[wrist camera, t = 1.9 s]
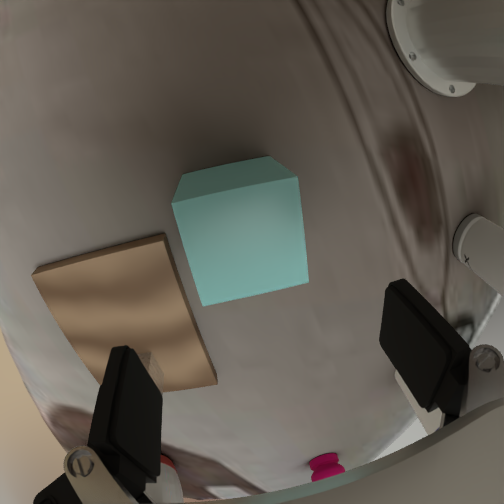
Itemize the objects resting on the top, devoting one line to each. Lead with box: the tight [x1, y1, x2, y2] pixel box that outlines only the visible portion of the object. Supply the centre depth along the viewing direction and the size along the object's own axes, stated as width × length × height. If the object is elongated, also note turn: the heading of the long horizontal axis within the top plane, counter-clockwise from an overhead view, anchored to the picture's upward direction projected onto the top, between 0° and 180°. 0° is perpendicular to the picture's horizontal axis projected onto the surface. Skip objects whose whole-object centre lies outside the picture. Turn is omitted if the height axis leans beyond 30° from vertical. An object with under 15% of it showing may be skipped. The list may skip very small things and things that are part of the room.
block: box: [137, 352, 164, 394], centre depth 26 cm, size 4×4×6 cm
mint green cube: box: [171, 156, 309, 306], centre depth 20 cm, size 7×7×8 cm
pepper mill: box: [309, 453, 345, 482], centre depth 42 cm, size 7×7×20 cm
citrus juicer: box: [145, 455, 184, 504], centre depth 32 cm, size 16×17×20 cm
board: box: [31, 233, 218, 392], centre depth 27 cm, size 18×14×2 cm
